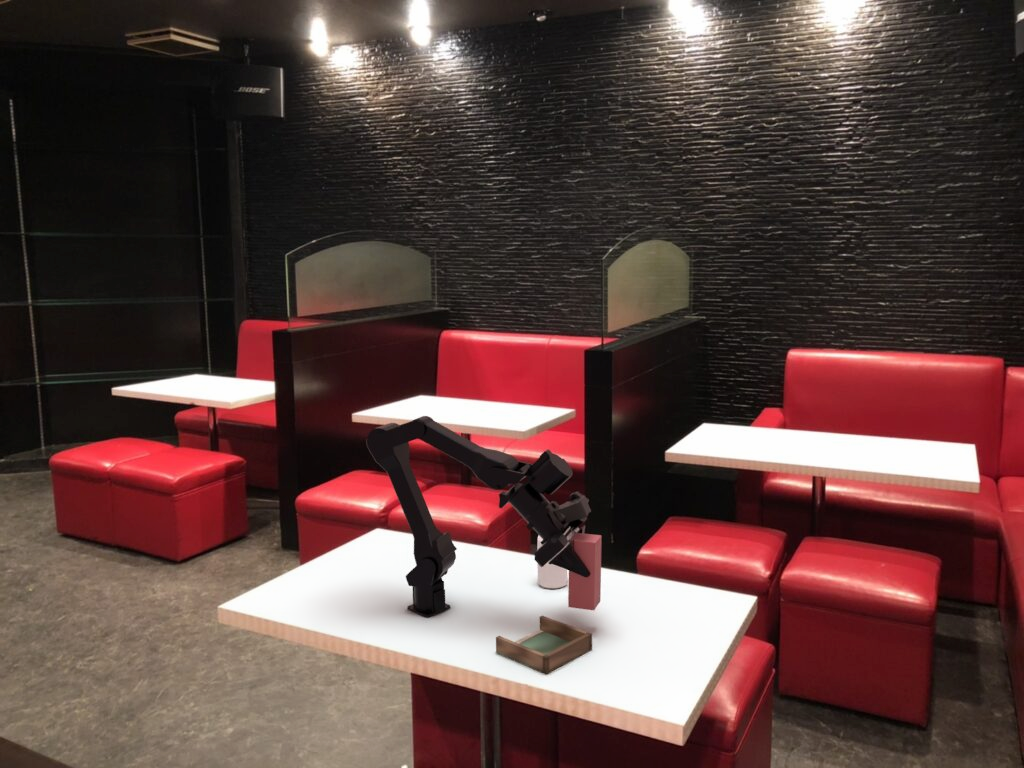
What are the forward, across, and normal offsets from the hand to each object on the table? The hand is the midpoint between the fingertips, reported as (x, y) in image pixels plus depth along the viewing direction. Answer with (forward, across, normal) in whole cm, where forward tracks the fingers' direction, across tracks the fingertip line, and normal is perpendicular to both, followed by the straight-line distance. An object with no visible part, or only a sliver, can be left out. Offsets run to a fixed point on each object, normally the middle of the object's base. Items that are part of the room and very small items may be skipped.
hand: (592, 570), depth 159 cm
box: (+4, -11, +13) cm, 17 cm away
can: (-1, +21, +18) cm, 28 cm away
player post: (+4, 0, +6) cm, 7 cm away
